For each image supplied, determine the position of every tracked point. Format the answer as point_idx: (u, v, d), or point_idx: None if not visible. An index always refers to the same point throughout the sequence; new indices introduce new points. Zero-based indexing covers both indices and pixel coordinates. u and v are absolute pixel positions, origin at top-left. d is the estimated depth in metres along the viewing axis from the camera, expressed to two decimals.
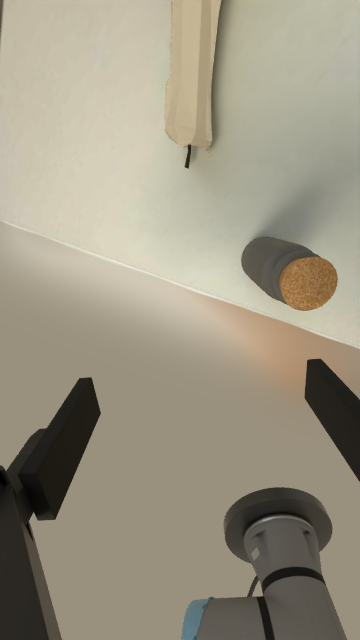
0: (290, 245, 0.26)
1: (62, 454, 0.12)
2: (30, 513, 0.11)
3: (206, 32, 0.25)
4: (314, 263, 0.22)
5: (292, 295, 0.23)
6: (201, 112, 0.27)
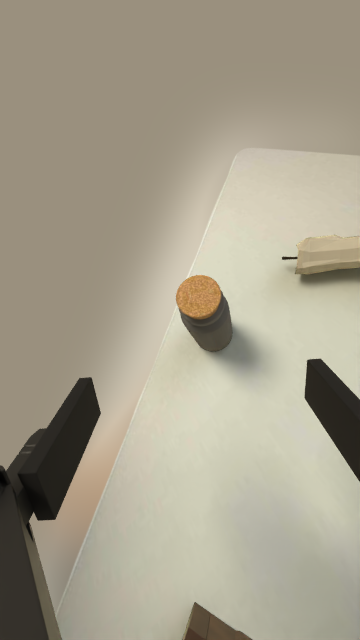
0: (228, 306, 0.31)
1: (62, 454, 0.12)
2: (30, 513, 0.11)
3: None
4: (215, 295, 0.27)
5: (189, 284, 0.28)
6: (321, 255, 0.37)
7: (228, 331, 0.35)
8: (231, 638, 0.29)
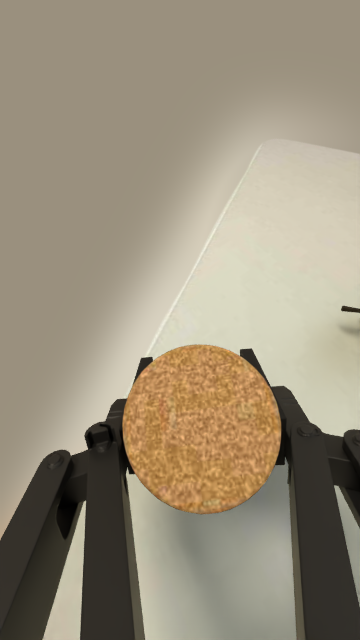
0: None
1: None
2: (126, 466, 0.12)
3: None
4: (263, 429, 0.08)
5: (173, 372, 0.09)
6: None
7: None
8: None
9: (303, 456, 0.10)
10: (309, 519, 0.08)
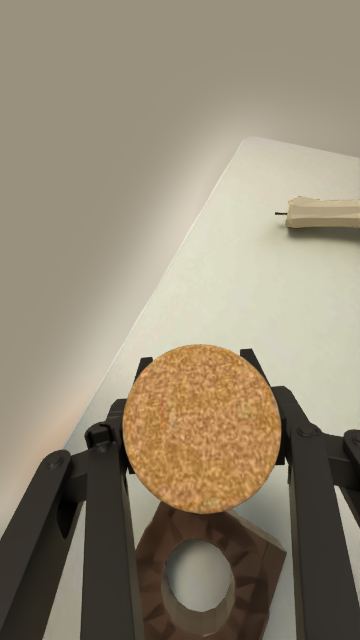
0: None
1: None
2: (126, 466, 0.12)
3: (345, 211, 0.44)
4: (263, 429, 0.08)
5: (173, 371, 0.09)
6: (306, 210, 0.45)
7: None
8: None
9: (303, 456, 0.10)
10: (309, 519, 0.08)
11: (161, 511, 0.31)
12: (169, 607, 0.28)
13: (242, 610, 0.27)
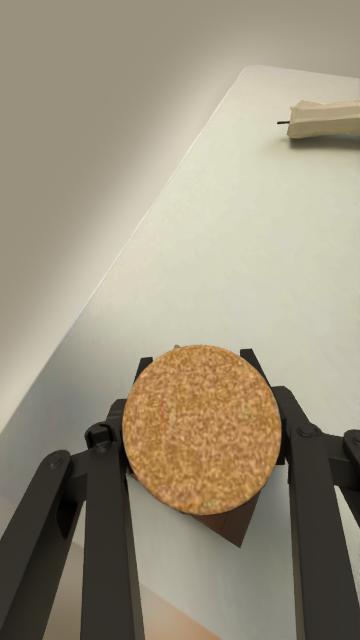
0: None
1: None
2: (126, 466, 0.12)
3: (348, 112, 0.44)
4: (263, 429, 0.08)
5: (173, 372, 0.09)
6: (309, 113, 0.45)
7: None
8: None
9: (303, 456, 0.10)
10: (309, 519, 0.08)
11: None
12: None
13: None
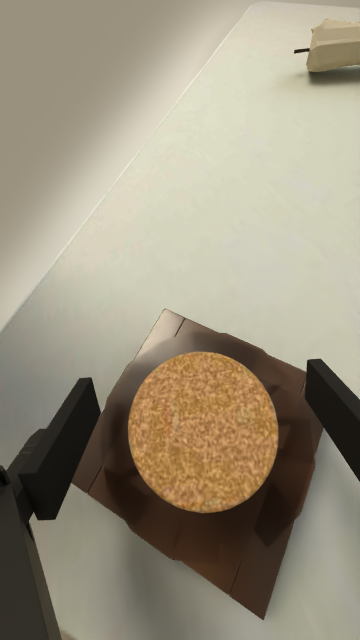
0: None
1: (62, 454, 0.12)
2: (30, 513, 0.11)
3: None
4: (261, 432, 0.08)
5: (176, 378, 0.09)
6: (335, 33, 0.36)
7: None
8: None
9: None
10: None
11: (149, 345, 0.21)
12: None
13: None
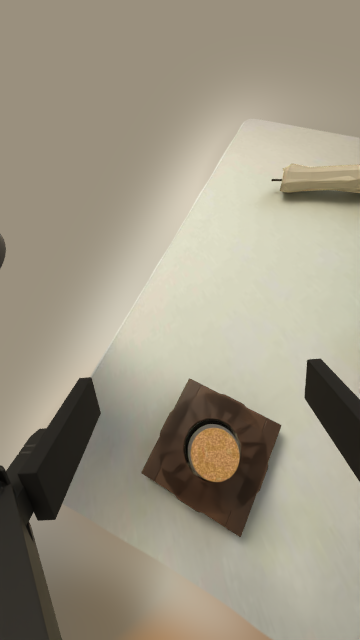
0: (239, 451, 0.30)
1: (62, 454, 0.12)
2: (30, 513, 0.11)
3: (331, 175, 0.53)
4: (234, 457, 0.26)
5: (206, 437, 0.26)
6: (298, 175, 0.54)
7: None
8: None
9: None
10: None
11: (182, 400, 0.39)
12: (190, 467, 0.36)
13: (247, 464, 0.35)
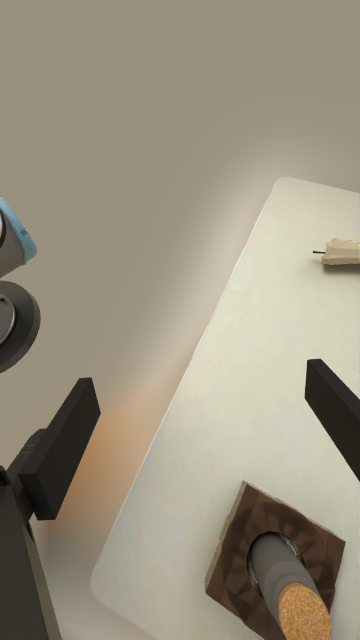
0: None
1: (62, 454, 0.12)
2: (30, 513, 0.11)
3: None
4: (325, 624, 0.25)
5: (293, 599, 0.26)
6: (342, 251, 0.53)
7: None
8: (272, 498, 0.41)
9: None
10: None
11: (241, 509, 0.38)
12: (253, 585, 0.36)
13: None
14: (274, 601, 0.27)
